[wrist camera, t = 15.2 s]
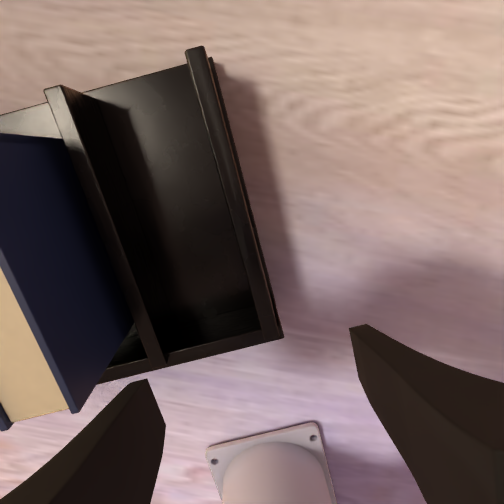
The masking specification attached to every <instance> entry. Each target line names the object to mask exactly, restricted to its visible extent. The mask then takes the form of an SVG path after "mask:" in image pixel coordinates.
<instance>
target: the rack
mask: <svg viewBox="0 0 504 504" xmlns="http://www.w3.org/2000/svg"><path fill="white" fill-rule="evenodd" d="M185 56H186V59H187V64H184V65H180V66H177V67H173V68H169V69H166V70H162V71H158V72H155V73H151V74H148V75H144V76H140V77H137V78H133V79H129V80H126V81H122V82H119V83H115V84H111V85H108V86H104V87H100V88H97V89H93V90H90V91H86V92H82V93H81V92H78V91H76V90H73V89H71V88H68V87H66V86H63V85H57V86H54V87H50V88H46V89H44V93H45V96H46V98H47V101H48V102H46V103H42V104H39V105H35V106H32V107H28V108H24V109H21V110H17V111H13V112H10V113H6V114H3V115H0V133H7V134H18V135H29V136H40V137H51V138H62V139H63V142H64V145H65V147H66V150H67V152H68V155H69V157H70V160H71V162H72V165H73V168H74V170H75V173H76V175H77V178H78V180H79V183H80V185H81V188H82V191H83V193H84V196H85V198H86V201H87V203H88V206H89V209H90V211H91V214H92V216H93V219H94V221H95V224H96V226H97V229H98V232H99V234H100V237H101V239H102V242H103V244H104V247H105V249H106V252H107V255H108V257H109V260H110V262H111V265H112V267H113V270H114V273H115V275H116V278H117V280H118V283H119V285H120V288H121V290H122V293H123V296H124V298H125V301H126V303H127V306H128V308H129V311H130V313H131V316H132V319H133V321H134V324H133V326H132V327H131V329H130V330H129V332H128V334H127V335H126V337H125V339H124V340H123V342H122V343H121V345H120V347H119V348H118V350H117V352H116V353H115V355H114V356H113V358H112V360H111V361H110V363H109V365H108V366H107V368H106V370H105V371H104V373H103V374H102V376H101V378H100V379H99V381H98V383H97V384H101V383H105V382H109V381H113V380H117V379H121V378H125V377H129V376H133V375H137V374H141V373H145V372H149V371H153V370H158V369H162V368H166V367H170V366H174V365H178V364H182V363H186V362H190V361H194V360H198V359H202V358H206V357H210V356H214V355H218V354H222V353H226V352H230V351H234V350H238V349H242V348H246V347H250V346H254V345H258V344H262V343H266V342H270V341H274V340H278V339H282V338H284V334H283V330H282V326H281V322H280V318H279V314H278V310H277V307H276V303H275V299H274V295H273V291H272V287H271V283H270V279H269V275H268V272H267V268H266V264H265V260H264V256H263V252H262V248H261V244H260V240H259V237H258V233H257V229H256V225H255V221H254V217H253V213H252V209H251V206H250V202H249V198H248V194H247V190H246V186H245V182H244V178H243V174H242V171H241V167H240V163H239V159H238V155H237V151H236V147H235V143H234V139H233V136H232V132H231V128H230V124H229V120H228V116H227V112H226V108H225V104H224V101H223V97H222V93H221V89H220V85H219V81H218V77H217V73H216V70H215V66H214V62H213V58H212V57H209V58H208V57H207V54H206V51H205V48H204V46H198V47H195V48H191V49H188V50H186V51H185ZM97 384H96V385H97Z"/></svg>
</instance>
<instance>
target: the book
mask: <svg viewBox="0 0 504 504" xmlns="http://www.w3.org/2000/svg"><path fill="white" fill-rule="evenodd" d="M133 324H134V321H133V319H132V316H131V313H130V311H129V308H128V306H127V303H126V301H125V298H124V296H123V293H122V290H121V288H120V285H119V283H118V280H117V278H116V275H115V273H114V270H113V267H112V265H111V262H110V260H109V257H108V255H107V252H106V249H105V247H104V244H103V242H102V239H101V237H100V234H99V232H98V229H97V226H96V224H95V221H94V219H93V216H92V214H91V211H90V209H89V206H88V203H87V201H86V198H85V196H84V193H83V191H82V188H81V185H80V183H79V180H78V178H77V175H76V173H75V170H74V168H73V165H72V162H71V160H70V157H69V155H68V152H67V150H66V147H65V145H64V142H63V139H62V138H51V137H40V136H29V135H18V134H7V133H0V430H1V431H5V430H8V429H9V428H10V427H11V426H12V425H13V424H14V422H17V421H21V420H25V419H29V418H33V417H37V416H41V415H45V414H49V413H53V412H58V411H62V410H66V409H70V411H71V413H72V414H74V413H78V412H80V410H81V409H82V407H83V405H84V404H85V402H86V400H87V399H88V397H89V396H90V394H91V392H92V391H93V389H94V387H95V386H96V384H97V383H98V381H99V379H100V378H101V376H102V374H103V373H104V371H105V370H106V368H107V366H108V365H109V363H110V361H111V360H112V358H113V356H114V355H115V353H116V352H117V350H118V348H119V347H120V345H121V343H122V342H123V340H124V339H125V337H126V335H127V334H128V332H129V330H130V329H131V327H132V326H133Z"/></svg>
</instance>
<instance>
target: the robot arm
mask: <svg viewBox="0 0 504 504" xmlns="http://www.w3.org/2000/svg"><path fill="white" fill-rule="evenodd" d="M349 331H350V336H351V342H352V347H353V352H354V357H355V362H356V367H357V372H358V377H359V380H360V382H361V384H362V387H363V389H364V391H365V393H366V396H367V398H368V400H369V402H370V404H371V406H372V408H373V409H374V411H375V413H376V414H377V416H378V418H379V419H380V421H381V423H382V424H383V426H384V428H385V429H386V431H387V433H388V434H389V436H390V438H391V439H392V441H393V443H394V444H395V446H396V448H397V449H398V451H399V453H400V454H401V456H402V458H403V459H404V461H405V462H406V464H407V466H408V468H409V469H410V471H411V473H412V475H413V477H414V479H415V480H416V482H417V484H418V486H419V489H420V491H421V493H422V495H423V497H424V499H425V501H426V503H427V504H504V383H502V382H498V381H495V380H491V379H487V378H484V377H481V376H478V375H475V374H471V373H469V372H466V371H463V370H460V369H458V368H455V367H452V366H449V365H447V364H444V363H442V362H439V361H437V360H435V359H433V358H430V357H428V356H426V355H424V354H422V353H419V352H417V351H415V350H413V349H411V348H409V347H407V346H405V345H404V344H402V343H400V342H398V341H396V340H394V339H392V338H391V337H389V336H387V335H385V334H383V333H382V332H380V331H378V330H376V329H375V328H373V327H371V326H369V325H368V324H364V325H360V326H356V327H352V328H349ZM165 429H166V424H165V422H164V419H163V417H162V414H161V412H160V409H159V407H158V404H157V402H156V399H155V397H154V395H153V392H152V390H151V387H150V385H149V382H148V380H147V379H143V380H139V381H135V382H131V383H130V384H128V385H127V386H126V387H125V388H124V389H123V390H122V391H121V392H120V393H119V394H118V395H117V396H116V397H115V398H114V399H113V400H112V401H111V402H110V403H109V404H108V405H107V406H106V407H105V408H104V409H103V410H102V411H101V412H100V413H99V414H98V415H97V416H96V417H95V418H94V419H93V420H92V421H91V422H90V423H89V424H88V425H87V426H86V427H85V428H84V429H83V430H82V431H81V432H80V433H79V434H78V435H77V436H76V437H74V438H73V439H72V440H71V441H70V442H69V443H68V444H67V445H66V446H65V447H64V448H63V449H62V450H61V451H60V452H59V453H58V454H56V455H55V456H54V457H53V458H52V459H51V460H50V461H48V462H47V463H46V464H45V465H44V466H43V467H41V468H40V469H39V470H38V471H37V472H35V473H34V474H33V475H32V476H31V477H29V478H28V479H27V480H26V481H24V482H23V483H22V484H20V485H19V486H18V487H16V488H15V489H14V490H12V491H11V492H10V493H8V494H7V495H6V496H4V497H3V498H2V499H0V504H150V502H151V498H152V494H153V491H154V487H155V483H156V479H157V475H158V471H159V467H160V463H161V459H162V454H163V446H164V438H165ZM312 435H315V436H313V437H311V436H312ZM205 457H206V460H207V462H208V465H209V468H210V470H211V473H212V476H213V479H214V481H215V484H216V487H217V489H218V492H219V495H220V497H221V500H222V504H337V501H336V497H335V493H334V489H333V485H332V481H331V477H330V473H329V469H328V465H327V461H326V457H325V453H324V449H323V445H322V441H321V436H320V432H319V429H318V426H317V424H315V423H306V424H302V425H298V426H293V427H289V428H285V429H281V430H277V431H273V432H268V433H264V434H260V435H256V436H252V437H248V438H243V439H239V440H235V441H231V442H227V443H223V444H219V445H214V446H210V447H208V448H207V449H206V453H205ZM213 459H217V460H213Z"/></svg>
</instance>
